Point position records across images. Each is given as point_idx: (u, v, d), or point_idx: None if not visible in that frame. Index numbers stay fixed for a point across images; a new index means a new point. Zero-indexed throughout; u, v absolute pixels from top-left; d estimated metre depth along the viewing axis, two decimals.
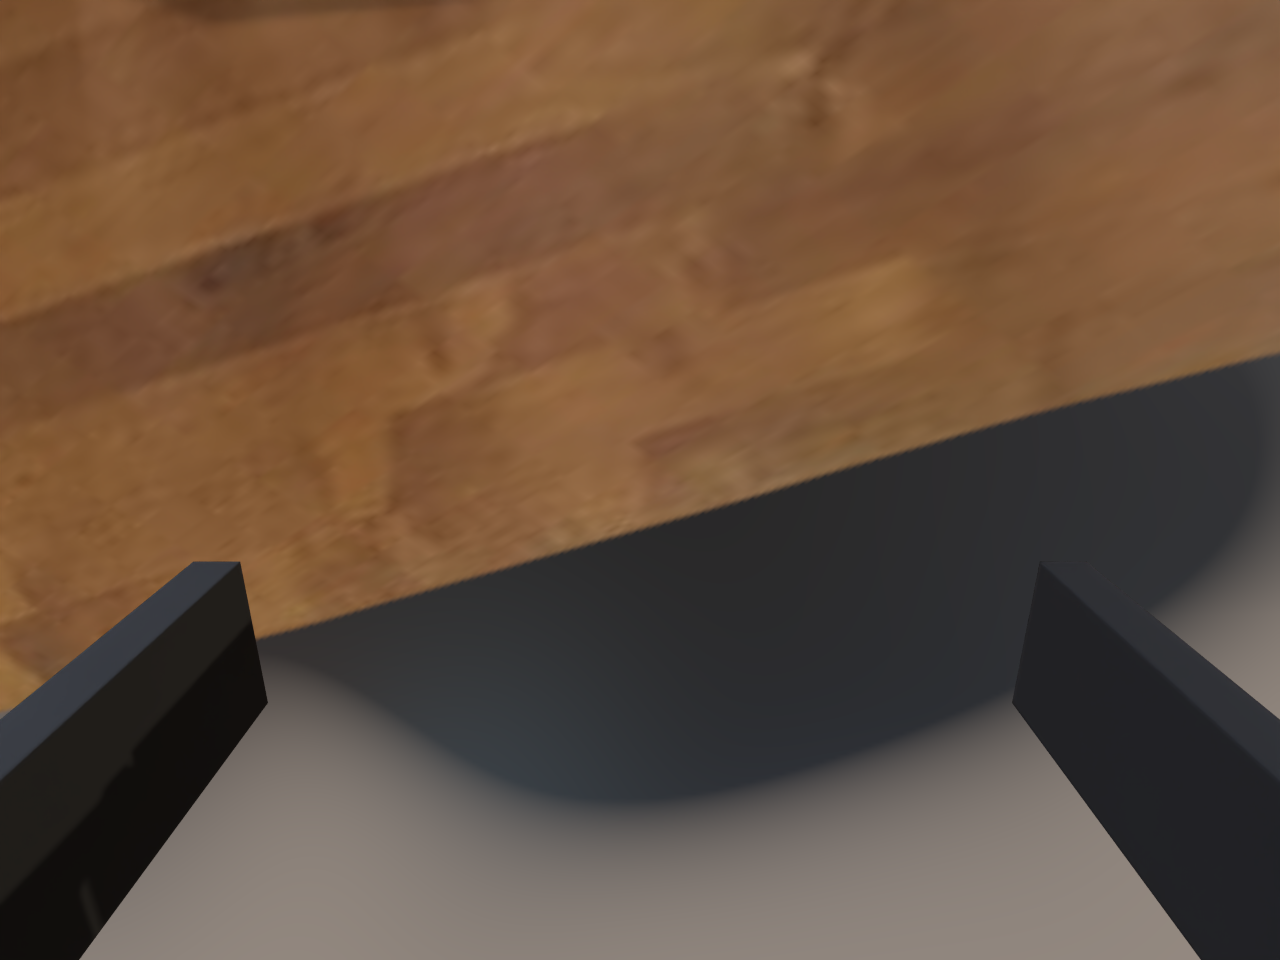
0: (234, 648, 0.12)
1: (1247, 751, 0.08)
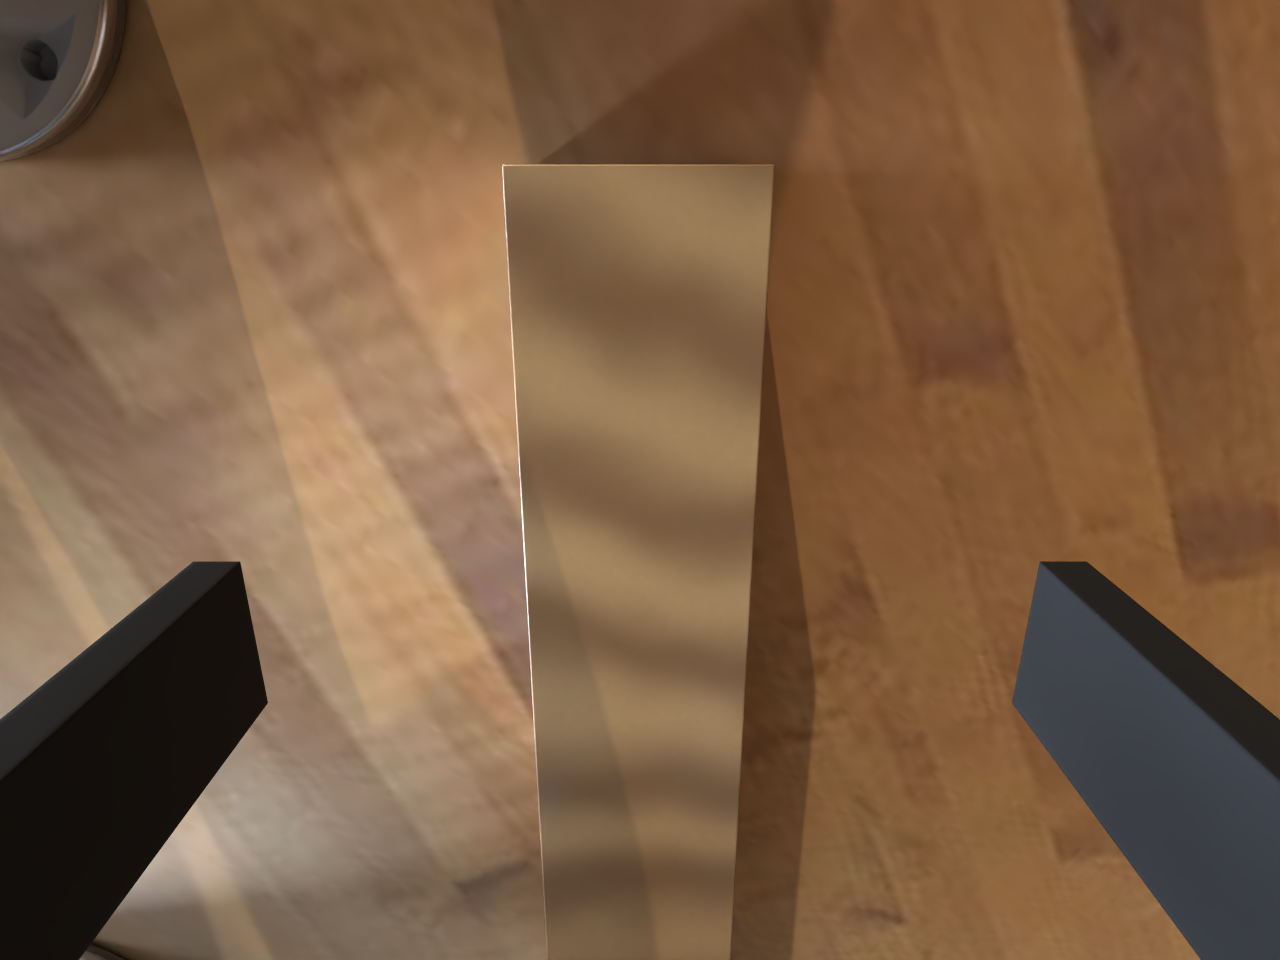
0: (234, 648, 0.12)
1: (1247, 751, 0.08)
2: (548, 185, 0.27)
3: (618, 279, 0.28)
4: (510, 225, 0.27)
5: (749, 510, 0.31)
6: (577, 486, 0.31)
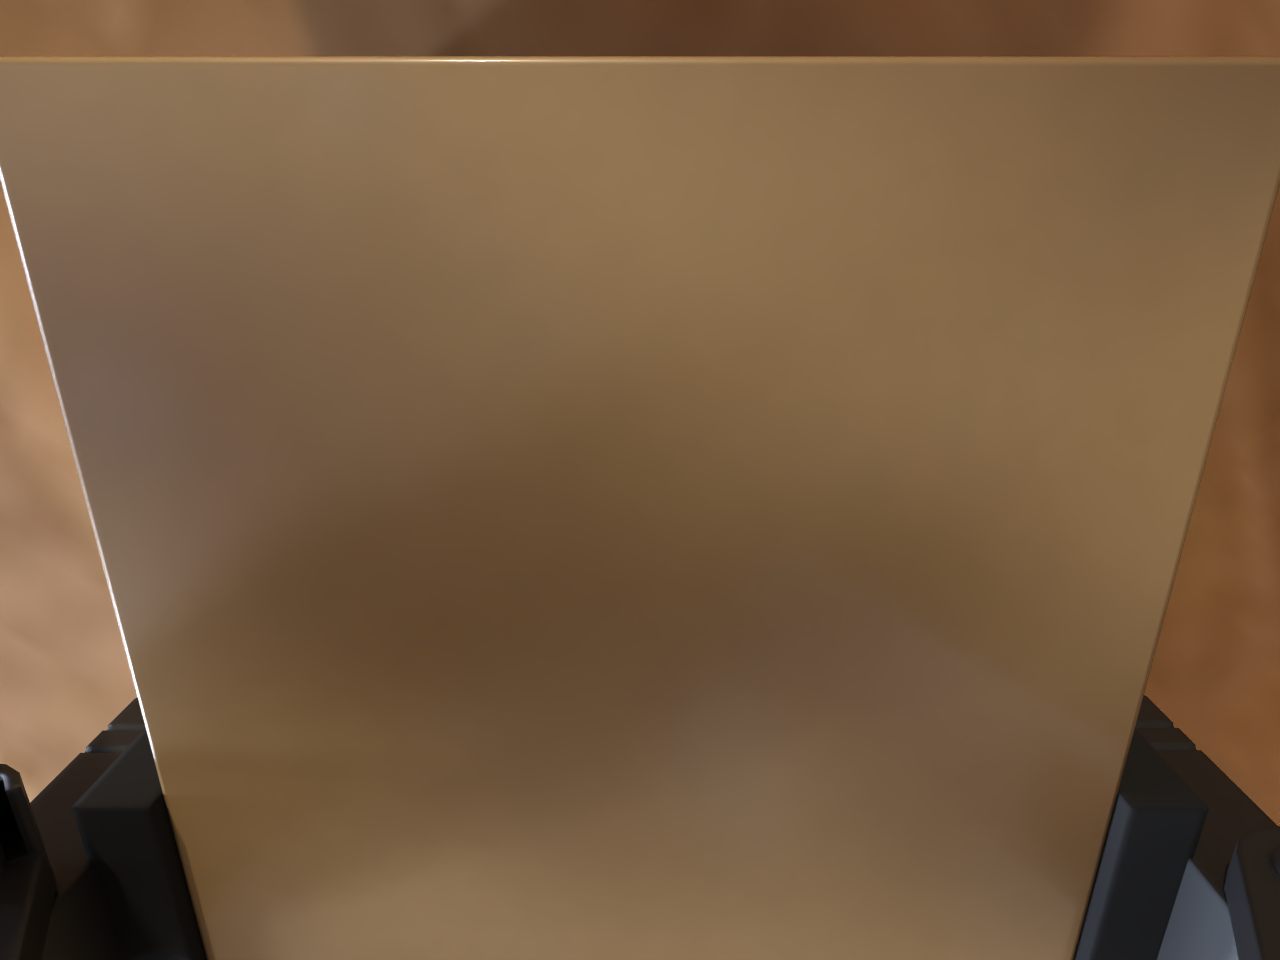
0: None
1: None
2: (210, 163, 0.06)
3: (558, 559, 0.07)
4: (65, 343, 0.06)
5: None
6: None
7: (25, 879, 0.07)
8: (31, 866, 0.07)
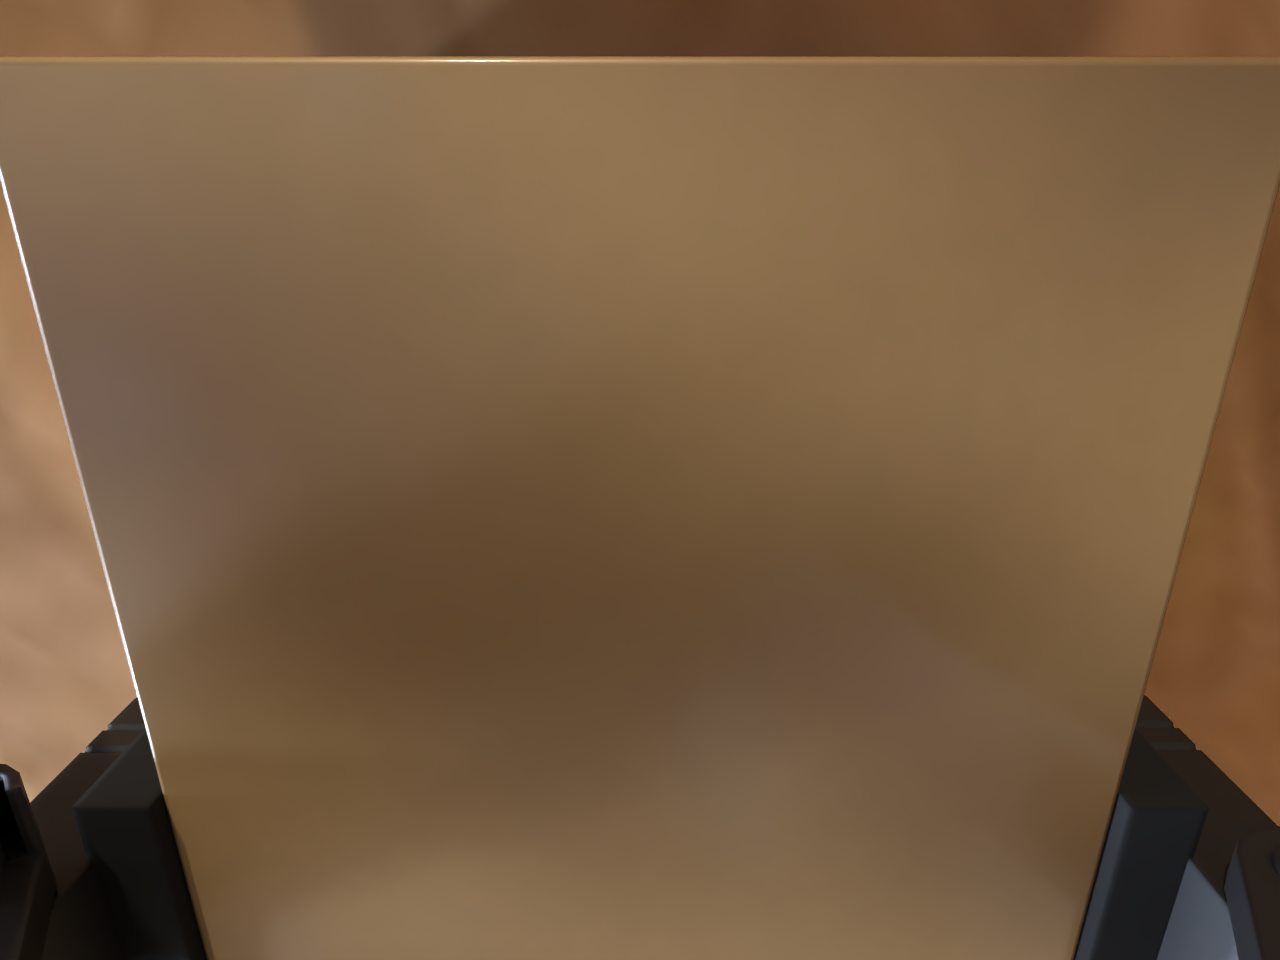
0: None
1: None
2: (208, 162, 0.06)
3: (558, 559, 0.07)
4: (65, 343, 0.06)
5: None
6: None
7: (25, 879, 0.07)
8: (31, 866, 0.07)
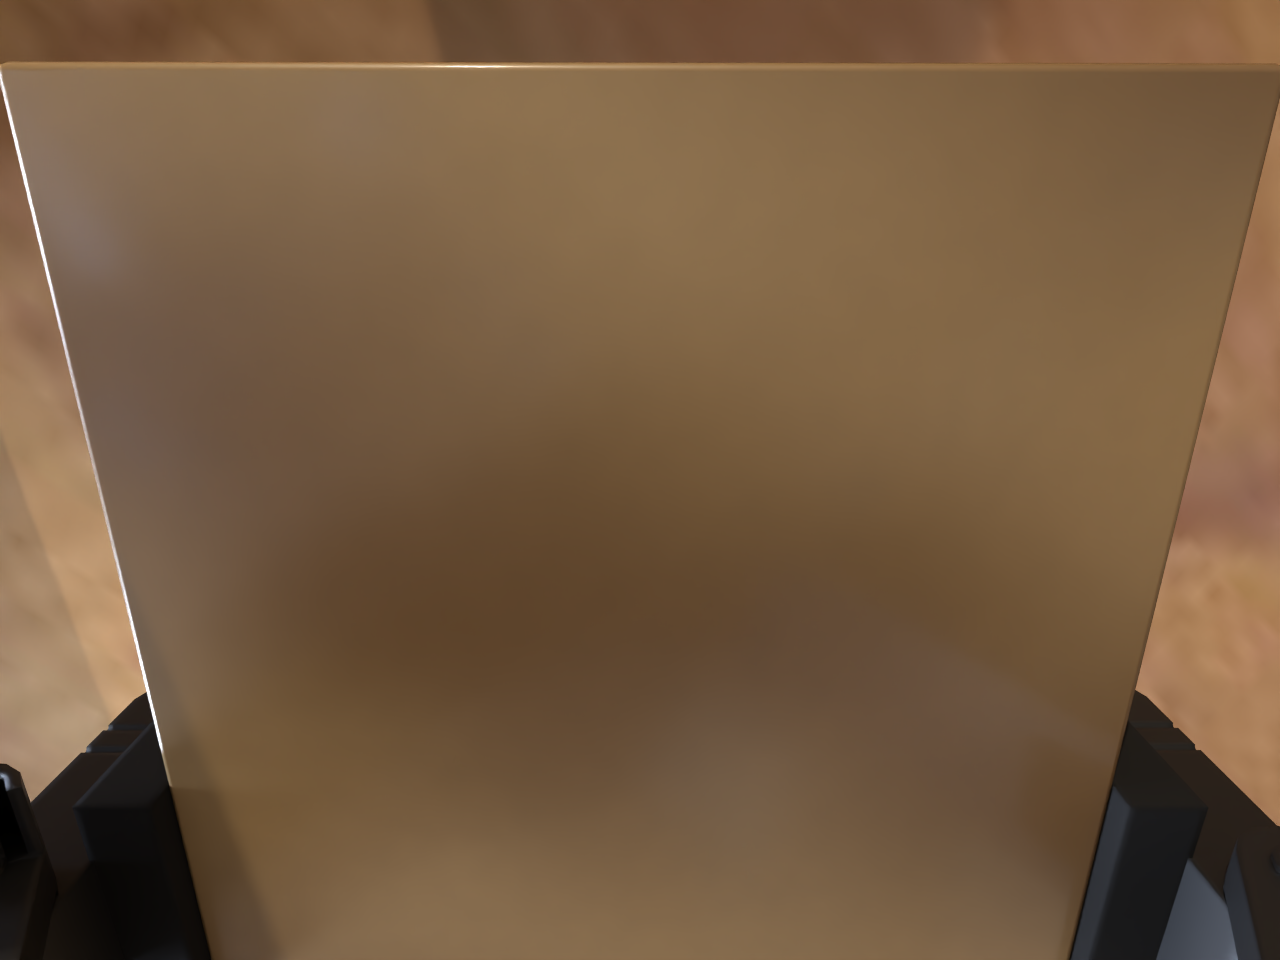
0: None
1: None
2: (225, 165, 0.06)
3: (559, 552, 0.07)
4: (83, 338, 0.06)
5: None
6: None
7: (25, 879, 0.07)
8: (31, 866, 0.07)
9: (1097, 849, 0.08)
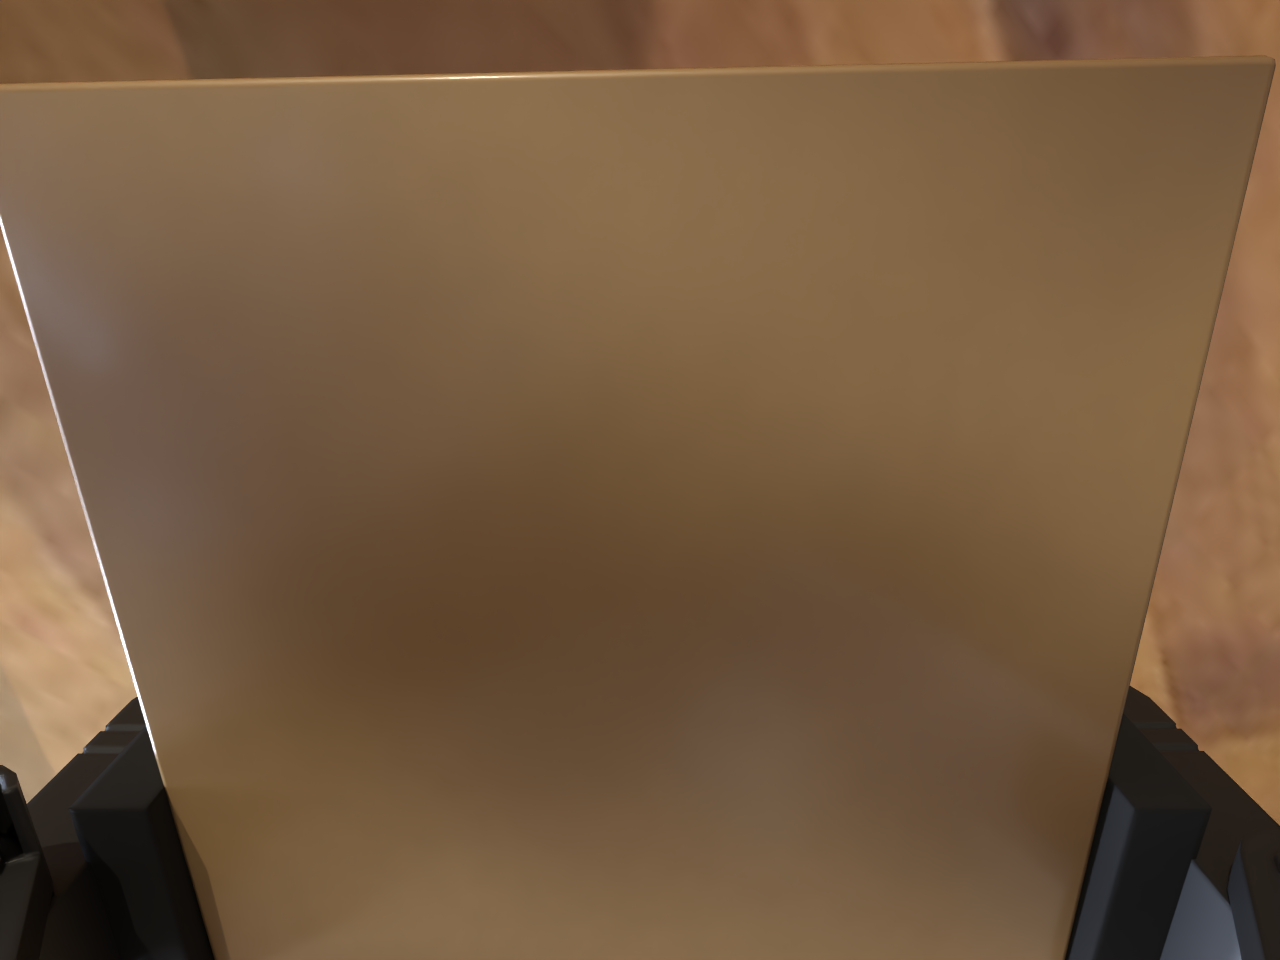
0: None
1: None
2: (196, 183, 0.06)
3: (548, 563, 0.07)
4: (61, 361, 0.06)
5: None
6: None
7: (21, 880, 0.07)
8: (27, 867, 0.07)
9: (1101, 850, 0.08)
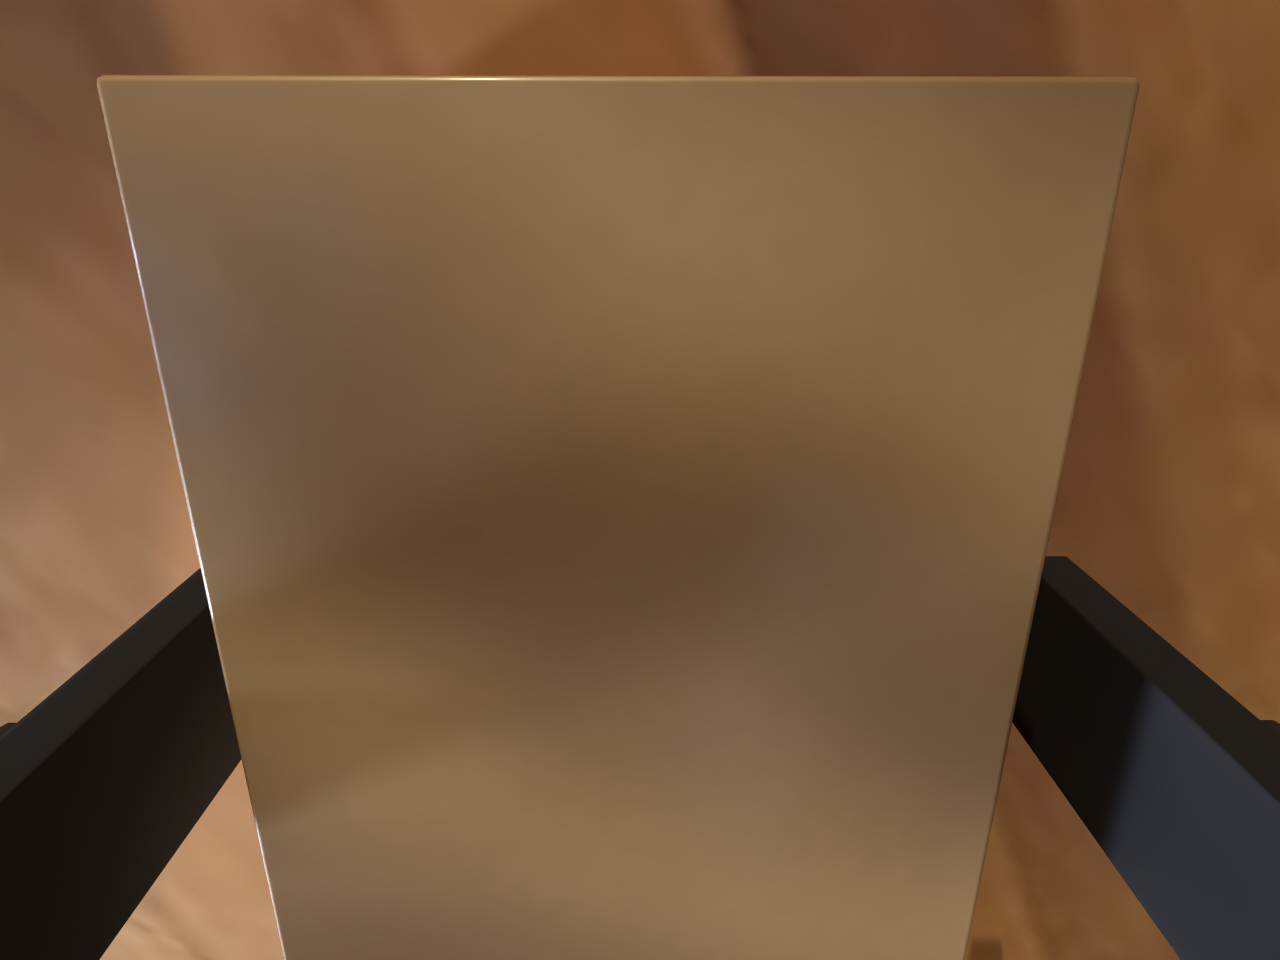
0: None
1: (1213, 739, 0.08)
2: (280, 158, 0.07)
3: (553, 481, 0.08)
4: (161, 302, 0.08)
5: None
6: None
7: None
8: None
9: None
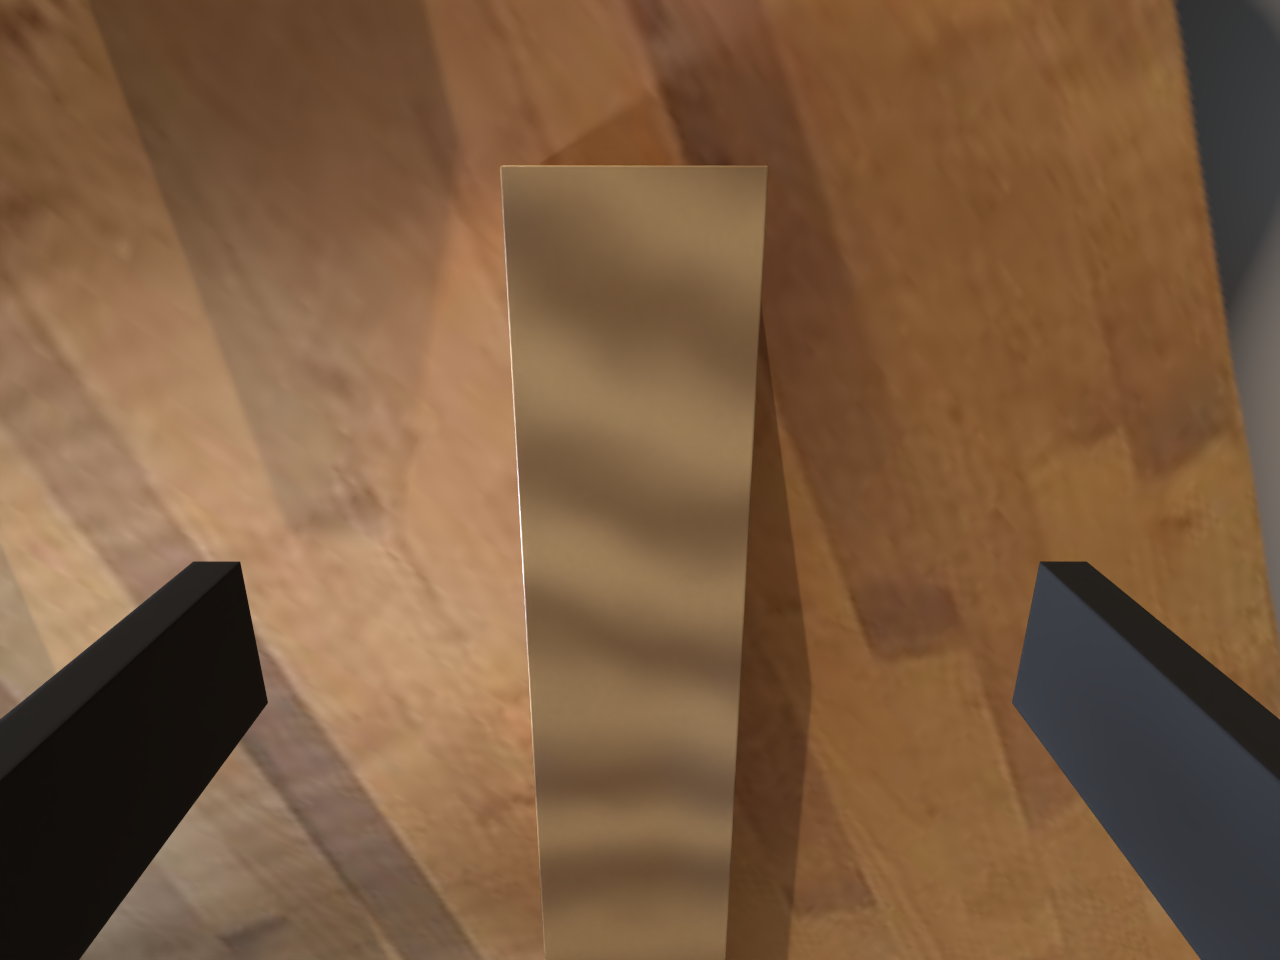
0: (234, 648, 0.12)
1: (1247, 751, 0.08)
2: (545, 186, 0.27)
3: (614, 279, 0.28)
4: (508, 225, 0.28)
5: (744, 507, 0.32)
6: (574, 483, 0.31)
7: None
8: None
9: None
